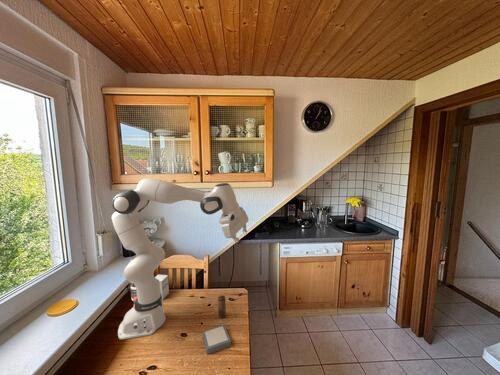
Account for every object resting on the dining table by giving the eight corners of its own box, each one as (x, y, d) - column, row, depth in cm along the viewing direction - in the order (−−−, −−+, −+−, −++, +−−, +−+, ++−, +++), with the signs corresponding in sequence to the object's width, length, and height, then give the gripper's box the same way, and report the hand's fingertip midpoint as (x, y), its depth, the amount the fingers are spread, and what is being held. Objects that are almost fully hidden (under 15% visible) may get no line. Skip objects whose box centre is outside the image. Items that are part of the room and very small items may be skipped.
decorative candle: (148, 297, 137) (144, 260, 134) (131, 303, 132) (127, 264, 129) (145, 290, 145) (142, 255, 141) (130, 295, 140) (126, 258, 136)
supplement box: (162, 300, 134) (161, 281, 133) (152, 299, 136) (150, 280, 134) (169, 293, 142) (168, 275, 140) (159, 292, 143) (158, 274, 141)
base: (207, 354, 97) (207, 349, 96) (202, 336, 107) (202, 331, 106) (230, 345, 101) (230, 340, 101) (224, 329, 111) (224, 324, 111)
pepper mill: (219, 319, 118) (218, 300, 116) (217, 314, 121) (217, 296, 120) (226, 317, 119) (226, 298, 118) (224, 312, 123) (224, 294, 121)
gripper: (236, 206, 122) (245, 228, 124) (217, 222, 104) (227, 248, 106) (246, 204, 119) (254, 227, 121) (227, 220, 101) (237, 246, 103)
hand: (241, 237), depth 114 cm, fingers open, 8 cm apart
